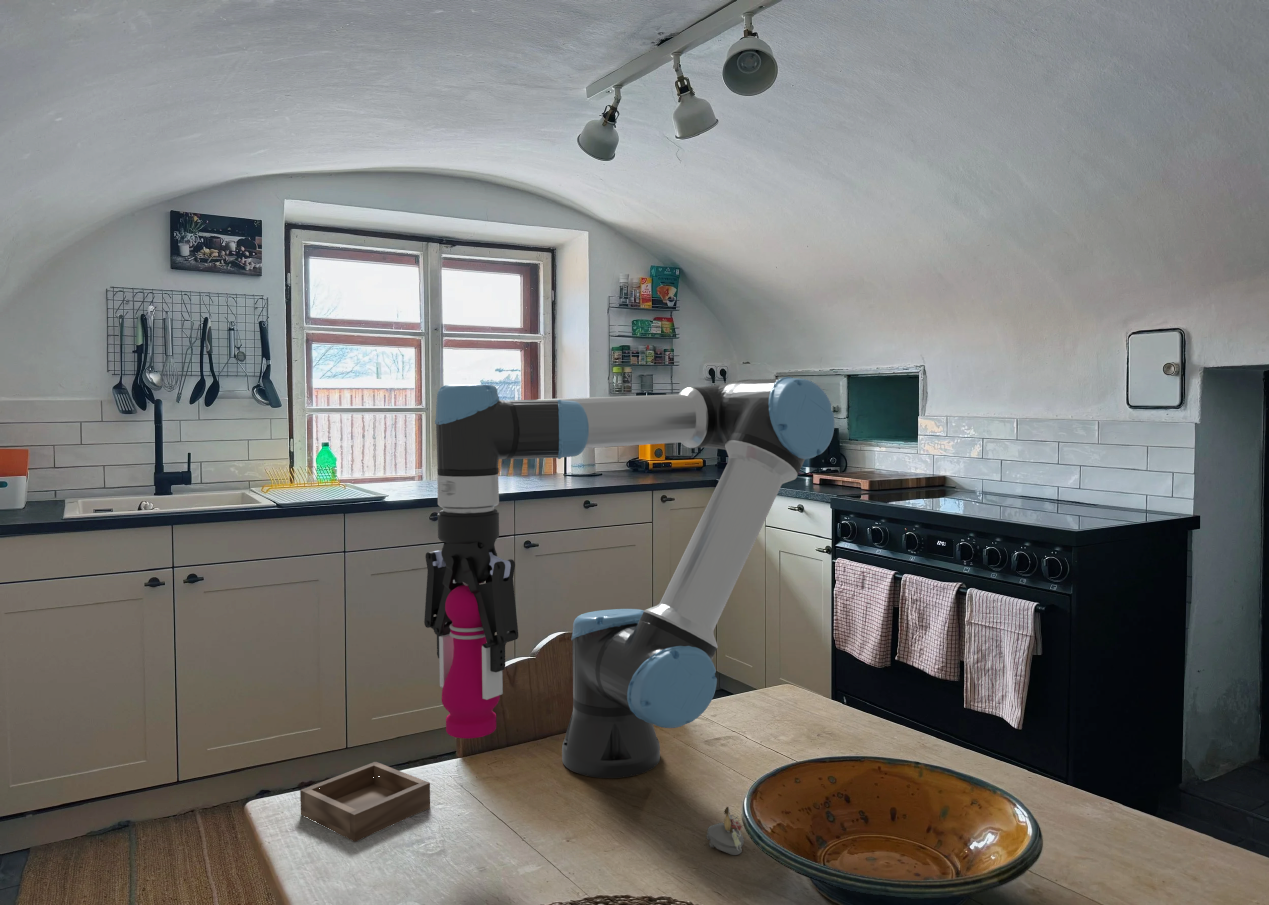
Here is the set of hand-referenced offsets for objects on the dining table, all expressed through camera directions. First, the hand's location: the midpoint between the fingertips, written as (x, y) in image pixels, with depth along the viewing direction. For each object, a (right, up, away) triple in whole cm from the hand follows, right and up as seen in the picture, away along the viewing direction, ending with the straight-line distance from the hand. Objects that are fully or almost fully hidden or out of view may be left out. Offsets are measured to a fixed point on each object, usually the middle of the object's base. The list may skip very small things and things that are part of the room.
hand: (470, 690), depth 113 cm
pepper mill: (0, -5, 0) cm, 5 cm away
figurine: (+32, -19, -2) cm, 37 cm away
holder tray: (-16, -19, +8) cm, 26 cm away
